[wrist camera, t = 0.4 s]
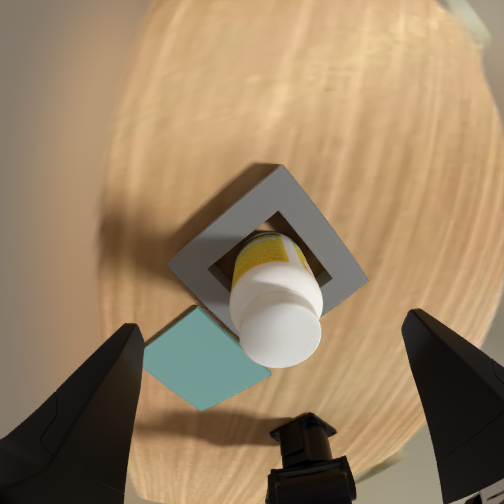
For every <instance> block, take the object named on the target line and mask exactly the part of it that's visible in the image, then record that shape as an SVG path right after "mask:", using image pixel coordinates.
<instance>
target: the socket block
mask: <svg viewBox="0 0 504 504" xmlns="http://www.w3.org/2000/svg"><path fill="white" fill-rule="evenodd" d="M278 210H279V212H280V213H281V214H282V215H283V216H284V218H285V219H286V220H287V221H288V222H289V224H290V225H291V226H292V227H293V229H294V230H295V231H296V232H297V234H298V235H299V236H300V237H301V238H302V240H303V241H304V242H305V243H306V245H307V246H308V247H309V248H310V250H311V251H312V252H313V254H314V255H315V256H316V257H317V259H318V260H319V261H320V262H321V264H322V265H323V266H324V268H325V270H324V271H323V272H321V273H320V274H319V275H317V276H316V277H315V279H316V281H317V283H318V285H319V288H320V290H321V293H322V299H323V308H322V313H321V316H320V317H322V316H323V315H325V314H326V313H327V312H329V311H330V310H331V309H333V308H334V307H335V306H337V305H338V304H340V303H341V302H342V301H344V300H345V299H346V298H348V297H349V296H350V295H351V294H353V293H354V292H355V291H357V290H358V289H359V288H360V287H362V286H363V285H364V284H366V283H367V282H368V281H369V279H368V278H367V276H366V275H365V273H364V272H363V270H362V269H361V267H360V266H359V264H358V263H357V262H356V260H355V259H354V257H353V256H352V254H351V253H350V251H349V250H348V249H347V247H346V246H345V244H344V243H343V242H342V240H341V239H340V237H339V236H338V235H337V233H336V232H335V230H334V229H333V228H332V226H331V225H330V224H329V222H328V221H327V220H326V218H325V217H324V216H323V214H322V213H321V212H320V210H319V209H318V208H317V206H316V205H315V204H314V203H313V201H312V200H311V199H310V197H309V196H308V195H307V194H306V192H305V191H304V190H303V188H302V187H301V186H300V185H299V183H298V182H297V181H296V180H295V179H294V177H293V176H292V175H291V174H290V172H289V171H288V170H287V169H286V168H285V166H284V165H282V164H280V165H279V166H277V167H276V168H275V169H274V170H272V171H271V172H270V173H269V174H268V175H266V176H265V177H264V178H263V179H261V180H260V181H259V182H258V183H257V184H255V185H254V186H253V187H252V188H251V189H249V190H248V191H247V192H246V193H245V194H243V195H242V196H241V197H240V198H239V199H237V200H236V201H235V202H234V203H233V204H232V205H230V206H229V207H228V208H227V209H226V210H225V211H223V212H222V213H221V214H220V215H219V216H218V217H217V218H215V219H214V220H213V221H212V222H211V223H210V224H209V225H207V226H206V227H205V228H204V229H203V230H202V231H201V232H199V233H198V234H197V235H196V236H195V237H194V238H193V239H192V240H191V241H189V242H188V243H187V244H186V245H185V246H184V247H183V248H182V249H181V250H180V251H178V252H177V253H176V254H175V255H174V256H173V257H172V258H171V260H170V261H169V262H168V263H167V265H166V266H167V267H168V268H169V269H170V270H171V271H172V272H173V273H174V274H175V275H176V276H177V278H178V279H179V280H180V281H181V282H182V283H183V284H184V285H185V286H186V287H187V288H188V289H189V290H190V291H191V292H192V293H193V294H194V295H195V296H196V297H197V298H198V299H199V300H200V301H201V302H202V303H203V304H204V305H205V306H206V307H207V308H208V309H209V310H210V311H212V312H213V313H214V314H215V315H216V316H217V317H218V318H219V319H220V320H221V321H222V322H223V323H224V324H225V325H226V326H227V327H228V328H229V329H230V330H232V331H233V332H234V333H235V334H236V335H237V336H238V337H239V334H240V332H239V331H238V330H237V329H236V327H235V326H234V324H233V321H232V319H231V315H230V308H229V304H230V294H231V288H232V282H231V280H230V279H229V278H228V277H227V276H226V275H225V274H224V273H223V272H222V271H221V270H220V269H219V268H218V267H217V266H216V265H215V264H214V263H215V262H216V261H217V260H219V259H220V258H221V257H222V256H223V255H225V254H226V253H227V252H228V251H229V250H231V249H232V248H233V247H234V246H235V245H237V244H238V243H239V242H240V241H242V240H243V239H244V238H245V237H246V236H248V235H249V234H250V233H251V232H253V231H254V230H255V229H256V228H257V227H259V226H260V225H261V224H262V223H264V222H265V221H266V220H267V219H268V218H270V217H271V216H272V215H273V214H275V213H276V212H277V211H278Z"/></svg>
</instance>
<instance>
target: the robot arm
mask: <svg viewBox="0 0 504 504" xmlns="http://www.w3.org/2000/svg"><path fill="white" fill-rule="evenodd" d="M401 331H402V336H403V339H404V343H405V347H406V351H407V355H408V359H409V364H410V367H411V371H412V374H413V377H414V380H415V383H416V386H417V389H418V392H419V396H420V399H421V402H422V406H423V409H424V413H425V416H426V420H427V424H428V427H429V431H430V435H431V439H432V444H433V447H434V453H435V457H436V461H437V468H438V473H439V479H440V484H441V491H442V497H443V504H449V503H452V502H454V501H457V500H459V499H462V498H464V497H467V496H469V495H471V494H474V493H476V492H478V491H479V493H477V494H476V495H474V496H473V497H471V498H470V499H468V500H467V501H466V502H465V504H504V367H503V366H501V365H500V364H498V363H497V362H496V361H494V360H493V359H490V357H489V356H488V355H486V354H485V353H484V352H482V351H481V350H479V349H478V348H477V347H475V346H474V345H472V344H471V343H470V342H468V341H467V340H465V339H464V338H463V337H461V336H460V335H458V334H457V333H456V332H454V331H453V330H451V329H450V328H448V327H447V326H445V325H444V324H443V323H441V322H440V321H438V320H437V319H435V318H434V317H432V316H431V315H429V314H428V313H426V312H425V311H423V310H422V309H420V308H417V309H411V310H410V311H409V312H408V314H407V316H406V318H405V320H404V322H403V325H402V329H401ZM144 349H145V343H144V339H143V337H142V334H141V331H140V329H139V327H138V325H137V324H135V323H125V324H123V325H122V326H121V327H120V328H119V329H118V330H117V331H116V332H115V333H114V334H113V335H112V336H111V337H110V338H109V339H108V340H106V341H105V342H104V343H103V344H102V345H101V346H100V347H99V348H98V349H97V350H96V351H95V352H94V353H93V354H92V355H91V356H90V357H89V358H88V359H87V360H86V361H85V362H84V363H83V364H82V365H81V366H80V367H79V368H78V369H77V370H76V371H75V372H74V373H73V374H72V375H71V376H70V377H69V378H68V379H67V380H66V381H65V382H64V383H63V384H62V385H61V386H60V387H59V388H58V389H57V390H56V392H54V393H53V394H52V395H51V396H50V397H49V398H48V399H47V400H46V401H45V402H44V403H43V404H42V405H41V406H40V407H39V408H38V409H37V410H36V411H35V412H33V413H32V414H31V415H30V416H29V417H28V418H27V419H25V420H24V421H23V422H22V423H21V424H20V425H18V426H17V427H16V428H15V429H14V430H13V431H11V432H10V433H9V434H8V435H7V436H5V437H4V438H2V439H0V504H124V493H125V483H126V474H127V466H128V459H129V452H130V445H131V438H132V432H133V426H134V420H135V415H136V409H137V404H138V399H139V394H140V388H141V379H142V368H143V358H144ZM336 433H337V431H336V429H334V428H333V427H332V426H330V425H329V424H327V423H326V422H324V421H323V420H322V419H320V418H319V417H317V416H316V415H315V414H308V415H306V416H304V417H302V418H300V419H298V420H296V421H294V422H292V423H290V424H288V425H286V426H283V427H281V428H279V429H277V430H275V431H272V432H270V437H271V438H273V439H275V440H277V441H278V442H280V450H281V456H282V465H283V469H271V474H269V475H268V488H267V494H266V499H265V503H266V504H352V501H353V500H356V487H355V482H354V479H353V475H352V472H351V469H350V466H349V464H348V461H347V458H346V455H345V456H341V457H340V458H336V459H333V458H332V454H331V449H330V445H329V440H328V437H331V436H333V435H335V434H336Z"/></svg>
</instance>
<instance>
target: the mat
mask: <svg viewBox="0 0 504 504" xmlns="http://www.w3.org/2000/svg"><path fill="white" fill-rule="evenodd" d="M143 368H144V369H145V370H146V371H148V372H149V373H150V374H151V375H152V376H154V377H155V378H156V379H157V380H159V381H160V382H161V383H163V384H164V385H165V386H166V387H168V388H169V389H170V390H172V391H173V392H174V393H176V394H177V395H178V396H180V397H181V398H183V399H184V400H185V401H187V402H188V403H190V404H191V405H192V406H194V407H195V408H197V409H198V410H200V411H203V410H205V409H208V408H210V407H212V406H214V405H216V404H218V403H220V402H222V401H224V400H226V399H228V398H230V397H232V396H234V395H236V394H237V393H239V392H241V391H243V390H245V389H247V388H249V387H250V386H252V385H254V384H256V383H258V382H260V381H261V380H263V379H265V378H267V377H268V376H270V375H271V371H270V370H269V369H268V368H266V367H265V366H262V365H260V364H257V363H256V362H254V361H252V360H251V359H250V358H249V357H248V356H247V355H246V354H245V353H244V351H243V350H242V347H241V345H240V344H239V343H238V342H237V341H236V340H235V339H234V338H232V337H231V336H230V335H229V334H228V333H227V332H226V331H225V330H224V329H223V328H222V327H221V326H220V325H218V324H217V323H216V322H215V321H214V320H213V319H212V318H211V317H210V316H209V315H208V314H207V313H206V312H205V311H204V310H203V309H202V308H201V307H200V306H199V305H198V306H197V307H195V308H194V309H193V310H191V311H190V312H189V313H188V314H186V315H185V316H184V317H182V318H181V319H180V320H179V321H177V322H176V323H175V324H173V325H172V326H171V327H170V328H168V329H167V330H166V331H164V332H163V333H162V334H161V335H159V336H158V337H157V338H155V339H154V340H153V341H152V342H150V343H149V344H148V345H146V346H145V349H144V358H143Z"/></svg>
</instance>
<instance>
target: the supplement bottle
mask: <svg viewBox="0 0 504 504" xmlns="http://www.w3.org/2000/svg"><path fill="white" fill-rule="evenodd" d="M229 308H230V315H231V319H232V321H233V324H234V326H235V327H236V329H237V330H238V331H239V332H240V334H239V339H240V345H241V347H242V350H243V351H244V353H245V354H246V355H247V356H248V357H249V358H250V359H251V360H252V361H254V362H256V363H257V364H260V365H262V366H265V367H270V368H285V367H290V366H293V365H296V364H298V363H300V362H302V361H304V360H305V359H307V358H308V357H309V356H310V355H311V354H312V353H313V352H314V351H315V350H316V348H317V346H318V344H319V342H320V339H321V326H320V322H319V319H320V316H321V313H322V308H323V299H322V293H321V290H320V288H319V285H318V283H317V281H316V279H315V277H314V275H313V273H312V271H311V269H310V267H309V265H308V263H307V261H306V259H305V257H304V255H303V253H302V251H301V249H300V248H299V246H298V245H297V244H296V243H295V242H294V241H293V240H292V239H291V238H289V237H288V236H286V235H283V234H280V233H275V232H266V233H261V234H258V235H255V236H253V237H252V238H250V239H249V240H247V241H246V242H245V243H244V244H243V246H242V247H241V249H240V250H239V252H238V255H237V258H236V262H235V267H234V274H233V281H232V288H231V294H230V304H229Z"/></svg>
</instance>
